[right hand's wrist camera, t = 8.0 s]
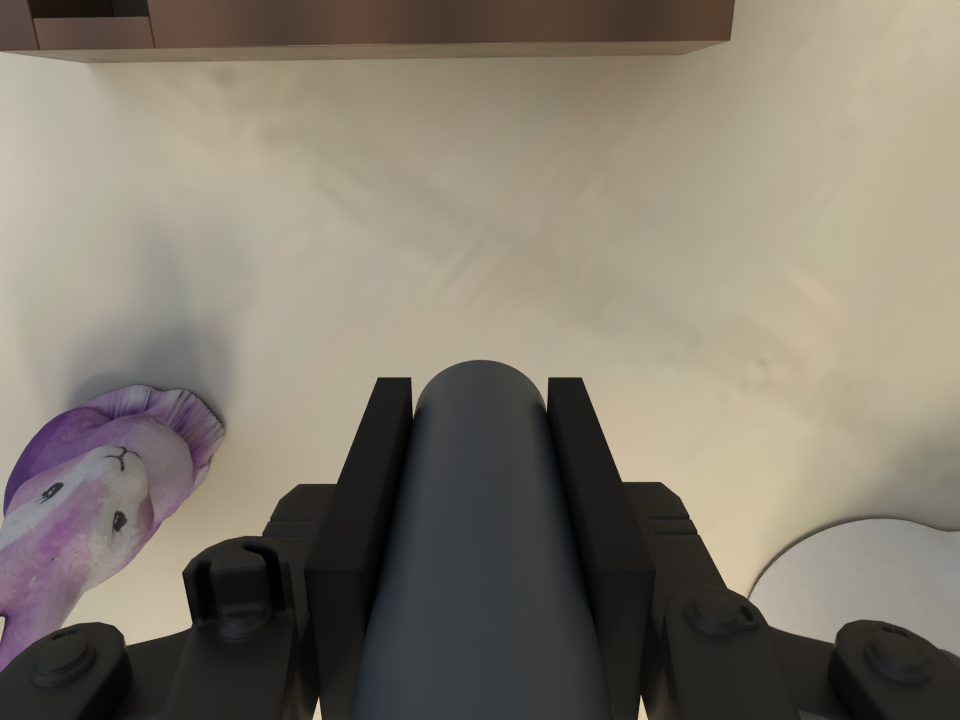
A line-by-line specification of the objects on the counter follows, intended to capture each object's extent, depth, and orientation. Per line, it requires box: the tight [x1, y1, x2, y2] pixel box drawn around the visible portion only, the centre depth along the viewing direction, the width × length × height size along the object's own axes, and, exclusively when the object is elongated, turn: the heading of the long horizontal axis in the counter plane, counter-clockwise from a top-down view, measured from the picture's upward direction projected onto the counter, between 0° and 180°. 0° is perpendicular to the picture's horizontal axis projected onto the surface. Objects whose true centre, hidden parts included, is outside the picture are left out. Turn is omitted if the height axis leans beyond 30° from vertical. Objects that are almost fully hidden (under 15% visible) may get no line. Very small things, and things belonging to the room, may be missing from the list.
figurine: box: [0, 384, 224, 672], centre depth 30 cm, size 9×10×15 cm
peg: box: [347, 360, 616, 720], centre depth 10 cm, size 3×3×12 cm
